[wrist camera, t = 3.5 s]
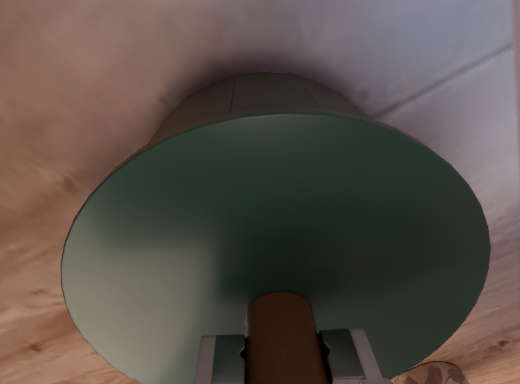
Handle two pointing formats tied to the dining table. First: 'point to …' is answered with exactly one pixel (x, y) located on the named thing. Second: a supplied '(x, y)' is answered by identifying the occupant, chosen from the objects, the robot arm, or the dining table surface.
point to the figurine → (433, 375)
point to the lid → (274, 247)
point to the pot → (254, 98)
